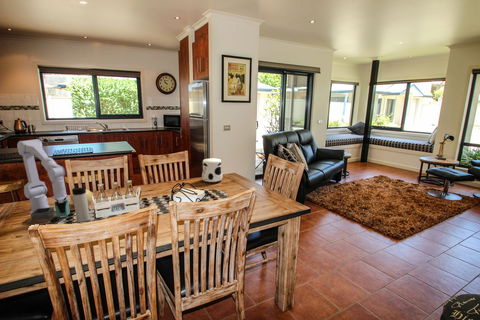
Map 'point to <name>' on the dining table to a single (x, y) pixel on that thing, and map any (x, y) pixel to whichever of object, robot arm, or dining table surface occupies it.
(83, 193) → the travel mug
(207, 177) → the milk container
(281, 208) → the dining table surface
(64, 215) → the teal rectangular block
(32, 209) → the robot arm
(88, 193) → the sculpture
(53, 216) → the mounting board
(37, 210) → the cup bracket
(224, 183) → the dining table surface
